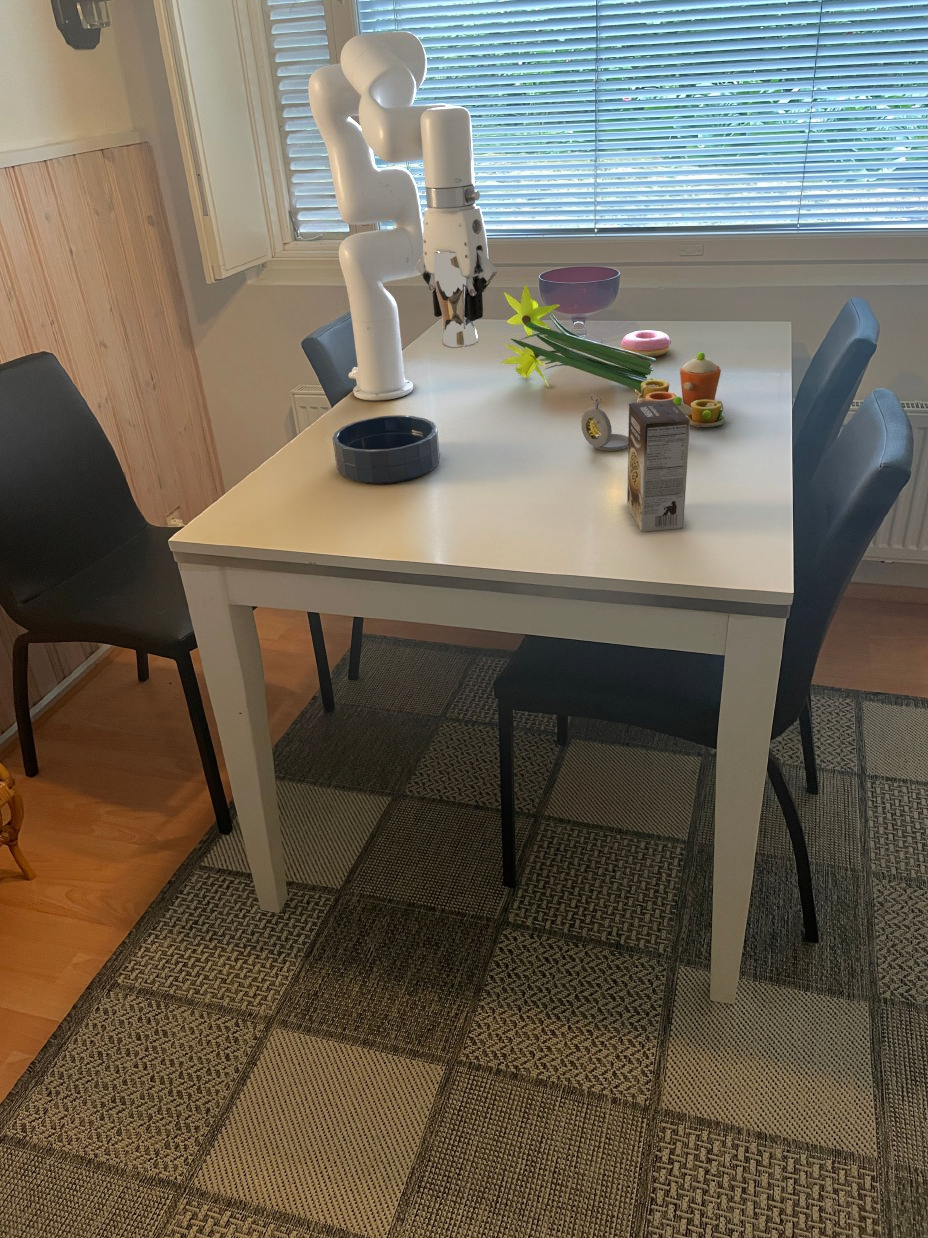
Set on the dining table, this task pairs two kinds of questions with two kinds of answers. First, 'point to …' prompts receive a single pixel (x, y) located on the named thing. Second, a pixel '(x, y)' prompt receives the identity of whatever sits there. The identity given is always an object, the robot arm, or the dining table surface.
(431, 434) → the bowl
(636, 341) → the doughnut
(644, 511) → the coffee box
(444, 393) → the dining table surface
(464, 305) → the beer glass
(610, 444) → the pocket watch
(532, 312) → the daffodil flowers
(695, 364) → the toy tea set
